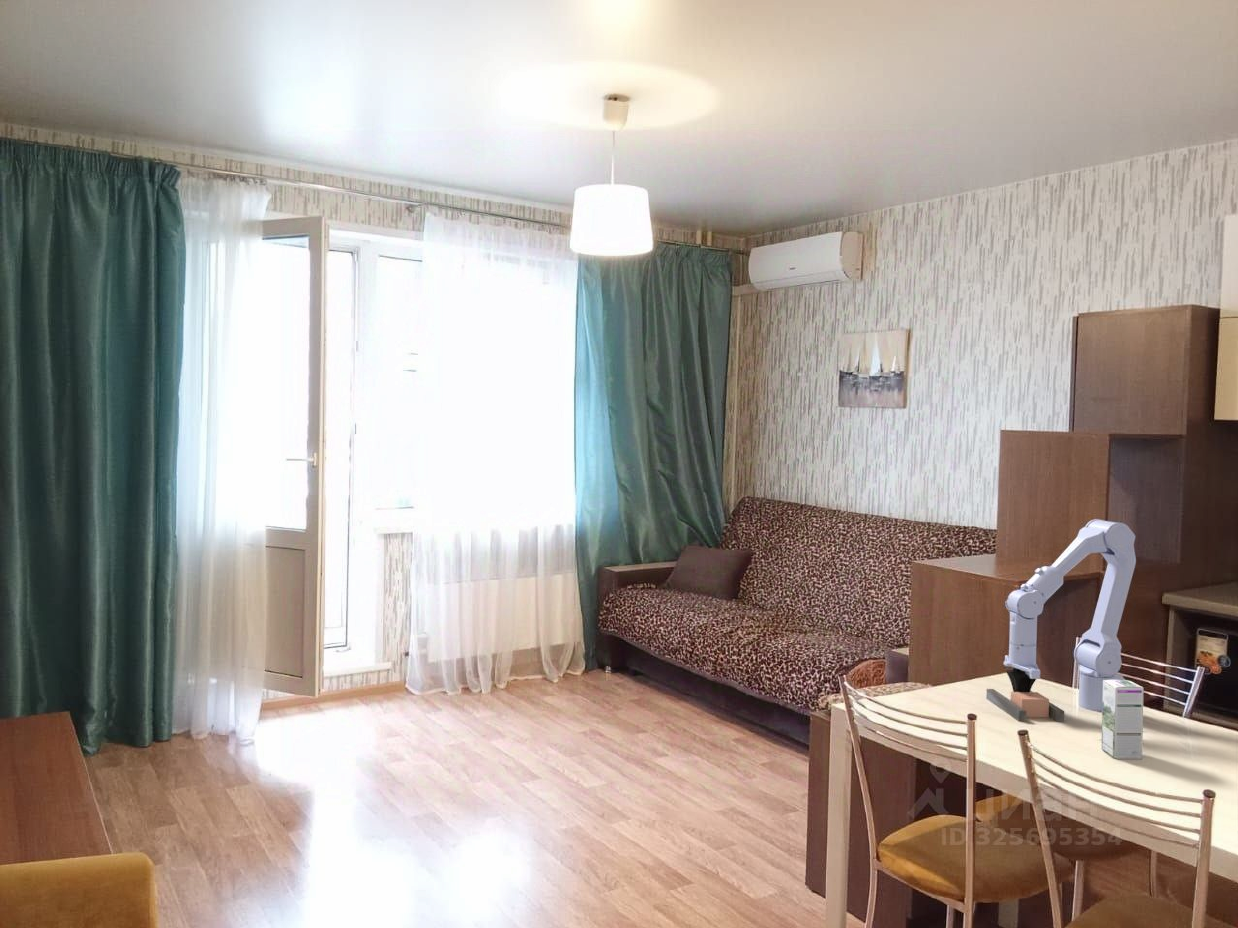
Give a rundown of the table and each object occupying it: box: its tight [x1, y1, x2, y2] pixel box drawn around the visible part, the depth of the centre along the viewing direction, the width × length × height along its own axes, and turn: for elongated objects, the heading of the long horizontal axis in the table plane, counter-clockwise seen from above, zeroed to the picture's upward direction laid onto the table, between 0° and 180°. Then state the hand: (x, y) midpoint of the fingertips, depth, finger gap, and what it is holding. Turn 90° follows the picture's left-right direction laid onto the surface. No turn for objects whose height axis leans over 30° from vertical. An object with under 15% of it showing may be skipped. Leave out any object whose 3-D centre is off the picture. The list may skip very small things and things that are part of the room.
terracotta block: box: [1010, 691, 1050, 718], centre depth 221 cm, size 6×6×4 cm
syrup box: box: [1101, 679, 1144, 760], centre depth 197 cm, size 6×6×14 cm
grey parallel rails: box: [985, 688, 1066, 723], centre depth 224 cm, size 12×24×4 cm, turn 1°
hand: (1021, 702), depth 225 cm, fingers closed
